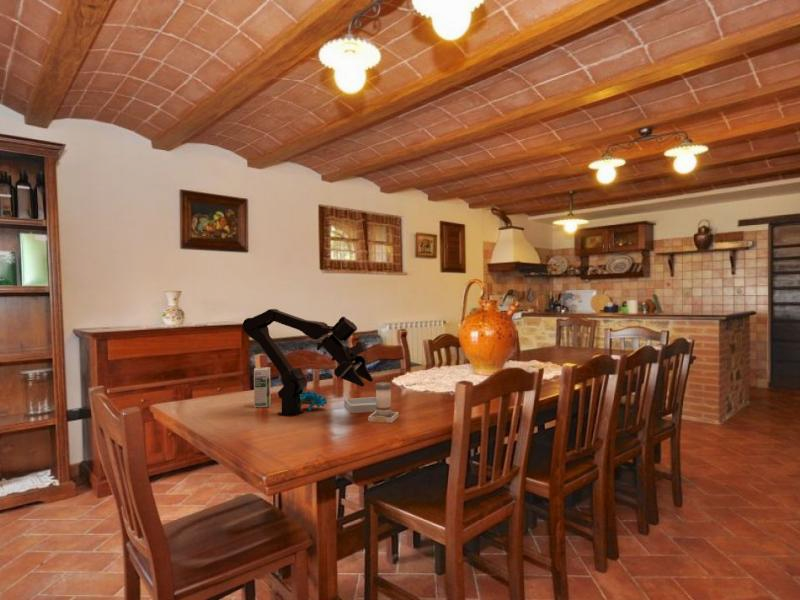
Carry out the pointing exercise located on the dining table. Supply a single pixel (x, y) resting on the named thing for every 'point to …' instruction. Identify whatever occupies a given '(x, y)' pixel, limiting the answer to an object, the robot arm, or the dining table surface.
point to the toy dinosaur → (312, 399)
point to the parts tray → (360, 405)
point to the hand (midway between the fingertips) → (367, 383)
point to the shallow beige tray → (383, 418)
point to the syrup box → (261, 387)
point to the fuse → (383, 399)
